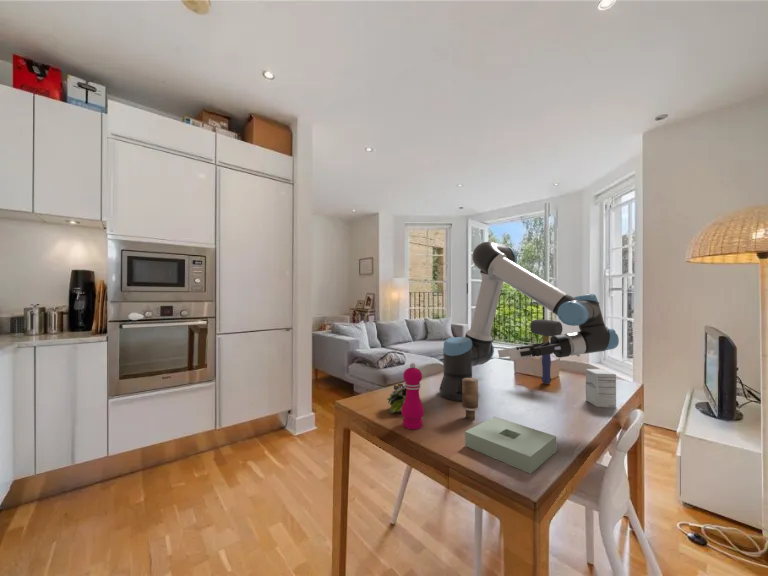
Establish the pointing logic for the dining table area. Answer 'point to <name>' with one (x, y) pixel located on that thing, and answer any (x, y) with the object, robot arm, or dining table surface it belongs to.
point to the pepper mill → (412, 399)
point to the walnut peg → (470, 397)
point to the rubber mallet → (546, 330)
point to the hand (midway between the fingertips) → (503, 354)
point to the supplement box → (601, 387)
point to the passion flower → (397, 398)
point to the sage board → (511, 443)
